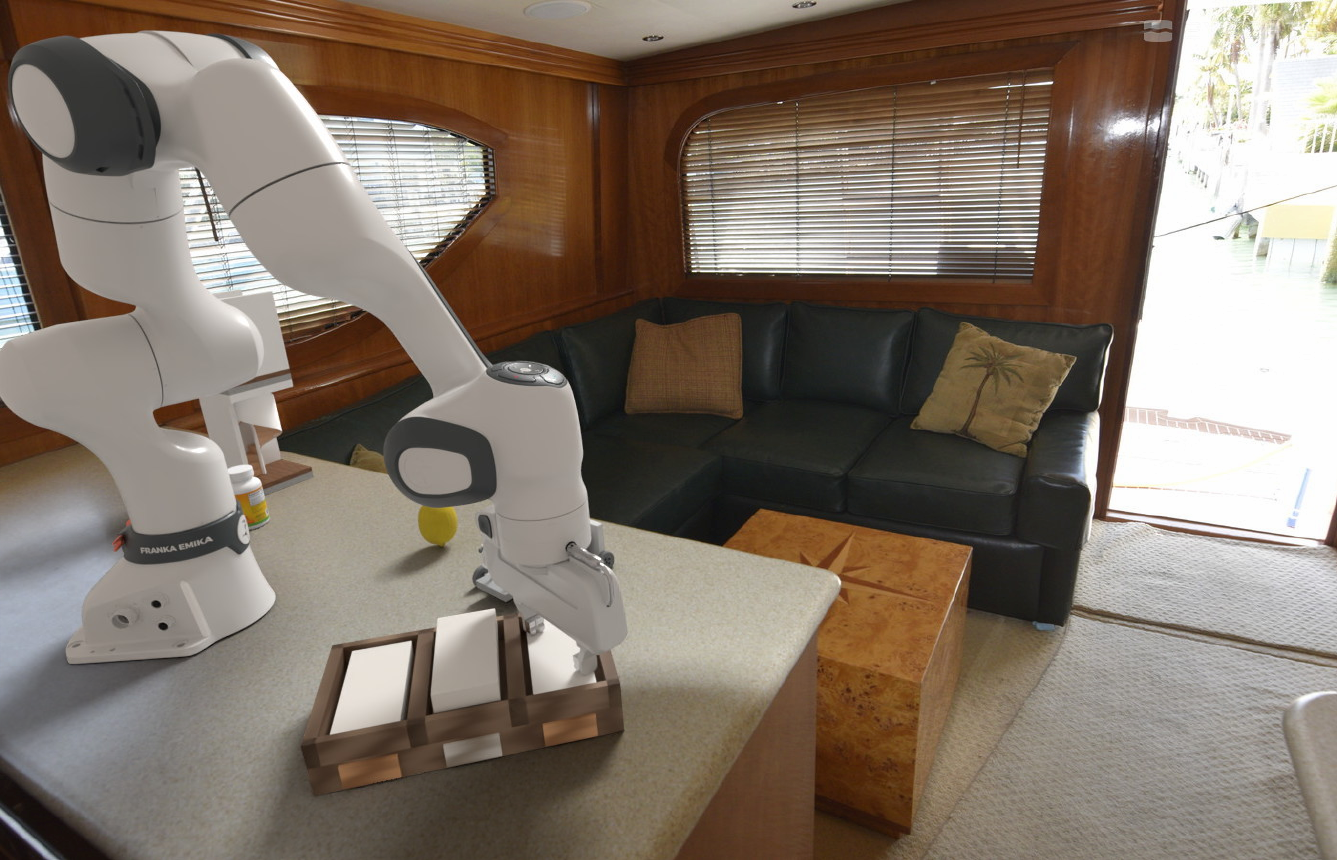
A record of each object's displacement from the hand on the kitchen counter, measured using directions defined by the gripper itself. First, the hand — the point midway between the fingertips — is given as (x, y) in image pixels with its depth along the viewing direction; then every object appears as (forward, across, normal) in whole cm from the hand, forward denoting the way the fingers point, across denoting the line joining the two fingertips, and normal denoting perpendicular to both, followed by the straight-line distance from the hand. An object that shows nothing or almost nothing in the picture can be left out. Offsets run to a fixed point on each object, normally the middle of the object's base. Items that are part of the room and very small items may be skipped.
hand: (559, 649), depth 77 cm
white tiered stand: (+5, +90, +5) cm, 90 cm away
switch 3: (+2, 0, 0) cm, 2 cm away
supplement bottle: (+5, +72, +12) cm, 74 cm away
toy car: (+6, +22, -11) cm, 25 cm away
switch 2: (0, +4, +8) cm, 9 cm away
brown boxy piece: (+5, +4, +8) cm, 10 cm away
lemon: (+5, +41, -6) cm, 42 cm away
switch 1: (+2, +9, +16) cm, 18 cm away
